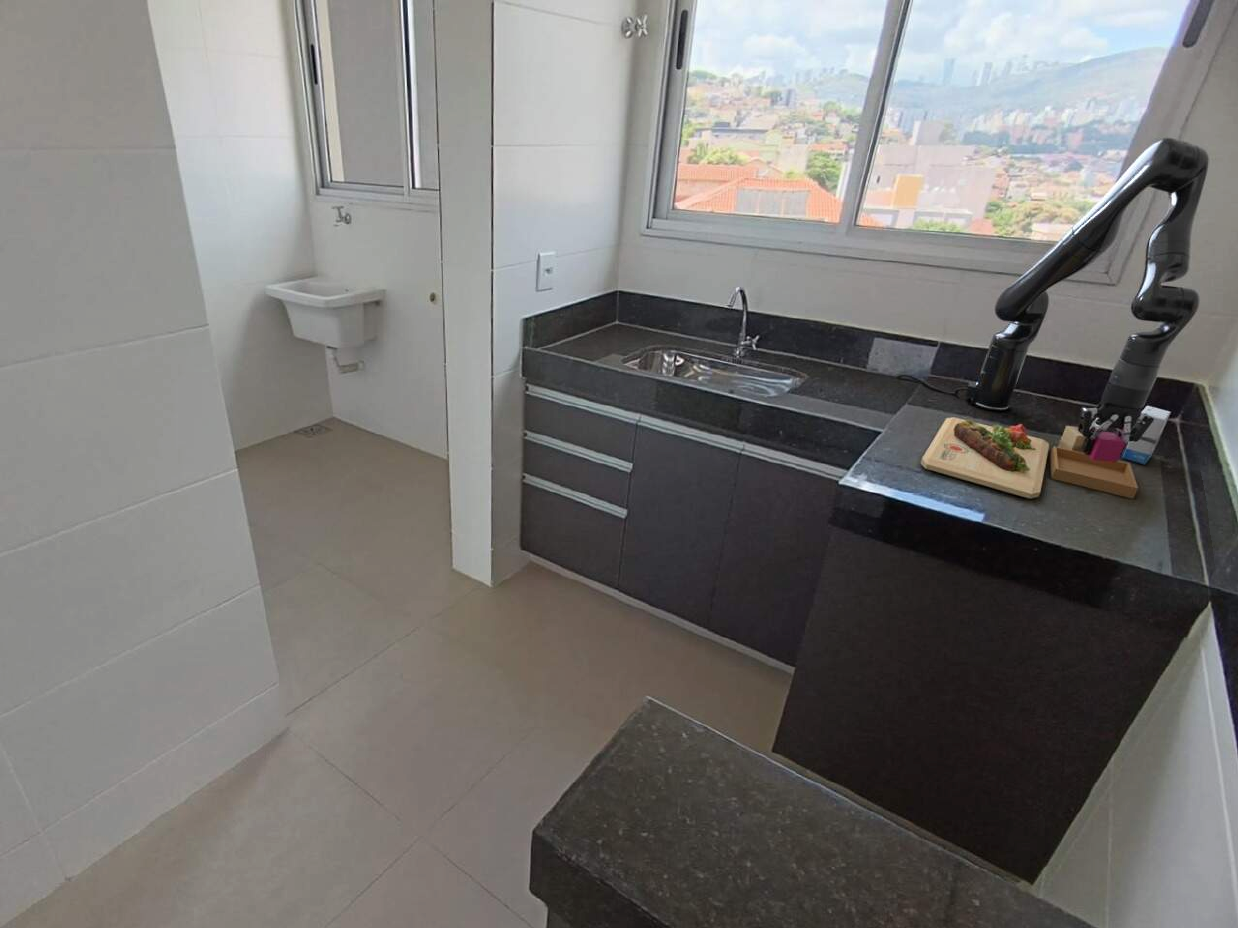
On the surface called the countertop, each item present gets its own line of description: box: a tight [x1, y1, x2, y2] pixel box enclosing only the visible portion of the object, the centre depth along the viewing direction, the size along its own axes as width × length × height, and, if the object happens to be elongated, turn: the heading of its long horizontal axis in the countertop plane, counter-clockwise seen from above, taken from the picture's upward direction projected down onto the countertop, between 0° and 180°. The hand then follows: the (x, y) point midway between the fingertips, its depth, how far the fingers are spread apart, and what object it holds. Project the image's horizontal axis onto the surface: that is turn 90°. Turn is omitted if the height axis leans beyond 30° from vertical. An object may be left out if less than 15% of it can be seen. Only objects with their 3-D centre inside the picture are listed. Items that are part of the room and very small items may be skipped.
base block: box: [1057, 425, 1085, 453], centre depth 157 cm, size 6×6×6 cm
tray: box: [1049, 445, 1139, 500], centre depth 147 cm, size 15×14×3 cm
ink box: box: [1121, 405, 1172, 465], centre depth 157 cm, size 9×5×12 cm, turn 134°
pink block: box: [1087, 431, 1127, 463], centre depth 145 cm, size 5×5×5 cm
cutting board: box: [920, 417, 1050, 499], centre depth 152 cm, size 35×23×8 cm
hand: (1099, 454), depth 146 cm, fingers closed on pink block, 5 cm apart
